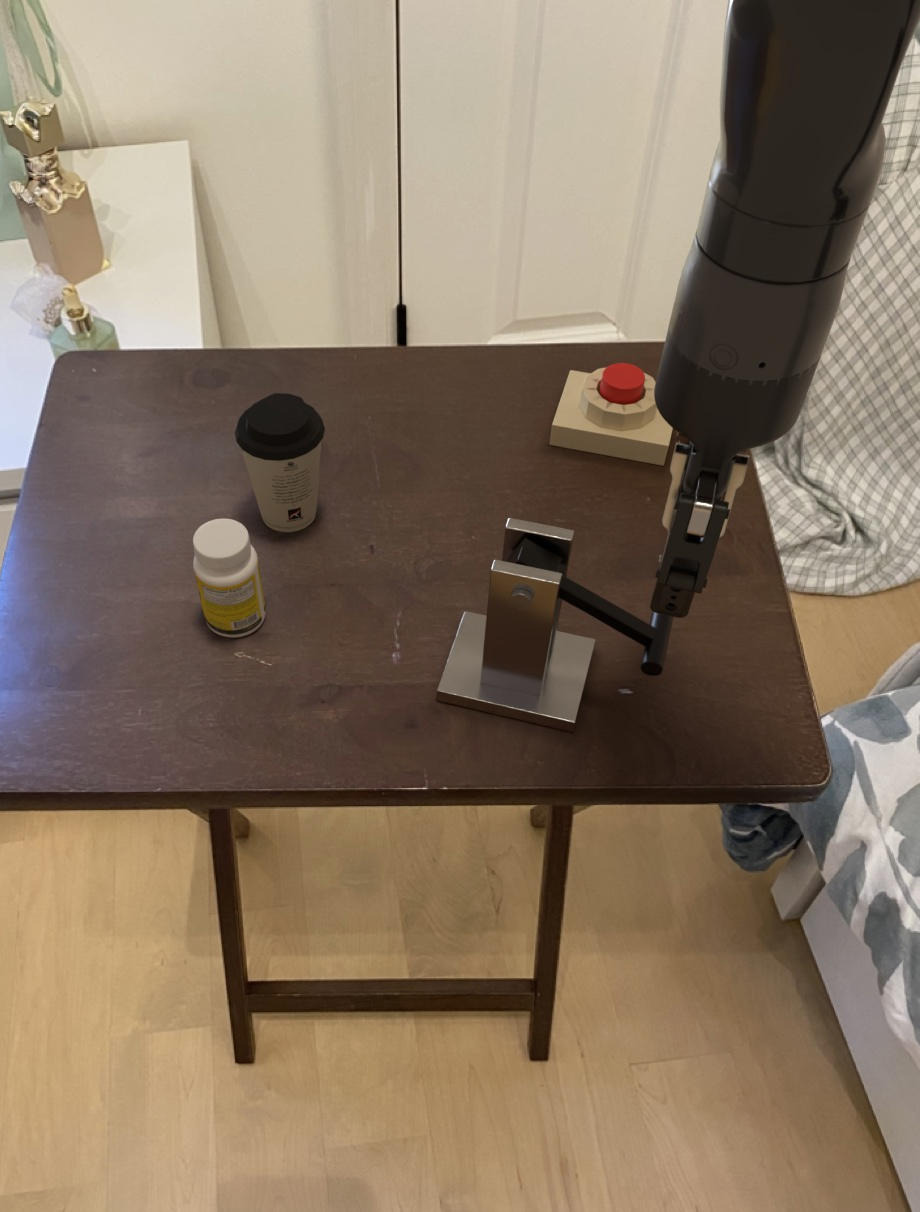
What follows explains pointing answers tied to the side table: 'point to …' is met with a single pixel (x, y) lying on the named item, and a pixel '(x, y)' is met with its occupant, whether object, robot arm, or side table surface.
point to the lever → (603, 608)
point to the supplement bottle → (228, 578)
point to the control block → (610, 422)
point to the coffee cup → (283, 459)
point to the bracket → (521, 641)
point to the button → (622, 384)
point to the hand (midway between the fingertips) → (678, 561)
